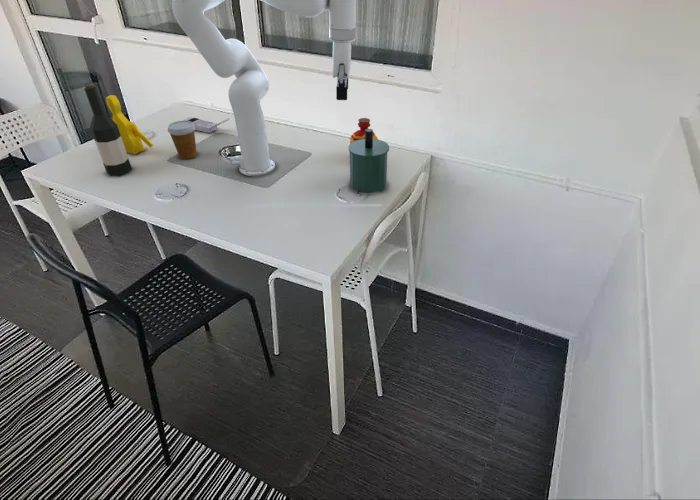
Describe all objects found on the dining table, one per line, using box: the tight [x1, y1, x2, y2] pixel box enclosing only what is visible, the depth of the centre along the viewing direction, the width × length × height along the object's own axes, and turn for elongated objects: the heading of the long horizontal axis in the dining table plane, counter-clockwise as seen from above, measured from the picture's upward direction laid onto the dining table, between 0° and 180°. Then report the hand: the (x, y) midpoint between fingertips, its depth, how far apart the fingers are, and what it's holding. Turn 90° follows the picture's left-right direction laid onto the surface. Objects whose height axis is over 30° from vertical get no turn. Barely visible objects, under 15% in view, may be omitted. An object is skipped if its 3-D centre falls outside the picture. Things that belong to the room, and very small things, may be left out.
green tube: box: [349, 152, 388, 194], centre depth 146 cm, size 12×12×13 cm
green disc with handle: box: [347, 128, 390, 158], centre depth 140 cm, size 13×13×7 cm
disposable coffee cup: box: [167, 120, 198, 160], centre depth 166 cm, size 10×10×12 cm
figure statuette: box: [105, 94, 154, 155], centre depth 167 cm, size 18×8×22 cm, turn 66°
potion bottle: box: [349, 117, 379, 145], centre depth 160 cm, size 10×10×15 cm
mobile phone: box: [182, 117, 230, 134], centre depth 188 cm, size 6×6×25 cm
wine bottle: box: [83, 83, 133, 177], centre depth 152 cm, size 8×8×30 cm
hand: (342, 94), depth 139 cm, fingers open, 9 cm apart
